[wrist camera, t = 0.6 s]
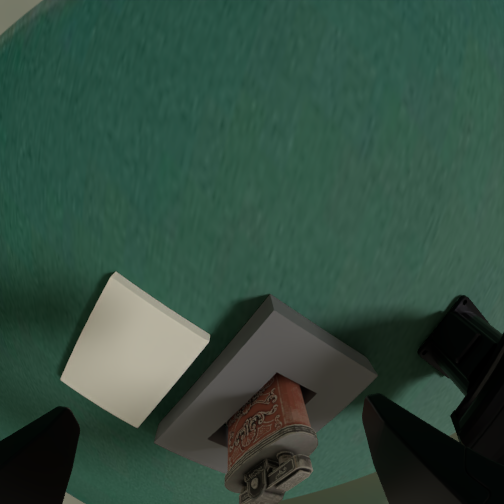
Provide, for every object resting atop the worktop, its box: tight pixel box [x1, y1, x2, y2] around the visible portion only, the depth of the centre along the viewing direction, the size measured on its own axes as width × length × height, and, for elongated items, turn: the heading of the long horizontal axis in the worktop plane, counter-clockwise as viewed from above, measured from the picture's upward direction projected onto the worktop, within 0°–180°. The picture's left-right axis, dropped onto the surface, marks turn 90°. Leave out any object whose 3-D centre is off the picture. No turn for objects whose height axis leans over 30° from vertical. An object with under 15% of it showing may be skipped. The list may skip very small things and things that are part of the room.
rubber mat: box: [60, 272, 210, 428], centre depth 22 cm, size 8×12×1 cm, turn 143°
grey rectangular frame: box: [154, 294, 378, 474], centre depth 23 cm, size 10×16×2 cm, turn 143°
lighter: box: [225, 373, 318, 504], centre depth 19 cm, size 8×3×10 cm, turn 145°
